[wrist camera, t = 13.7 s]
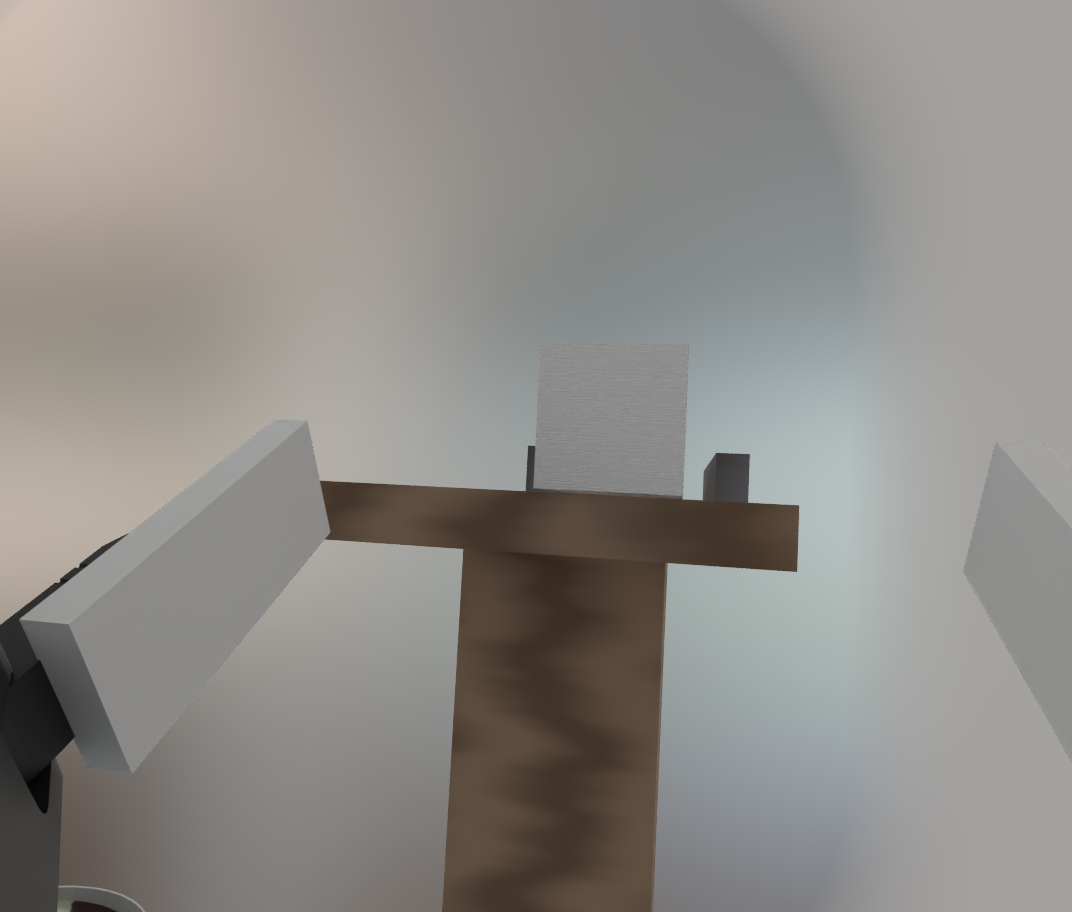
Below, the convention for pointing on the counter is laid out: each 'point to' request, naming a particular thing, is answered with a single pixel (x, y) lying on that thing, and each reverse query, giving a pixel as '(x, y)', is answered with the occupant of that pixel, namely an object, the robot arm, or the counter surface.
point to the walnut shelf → (562, 670)
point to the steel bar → (612, 419)
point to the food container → (94, 900)
